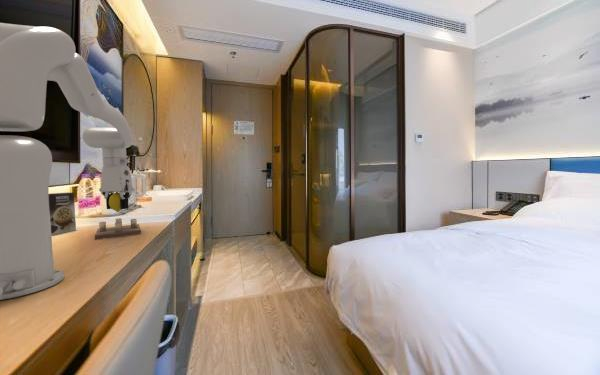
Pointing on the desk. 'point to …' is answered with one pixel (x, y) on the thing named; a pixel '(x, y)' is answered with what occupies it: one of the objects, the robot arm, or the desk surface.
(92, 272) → the desk surface
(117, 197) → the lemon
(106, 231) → the peg cradle
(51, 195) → the coffee box
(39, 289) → the robot arm
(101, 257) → the desk surface
